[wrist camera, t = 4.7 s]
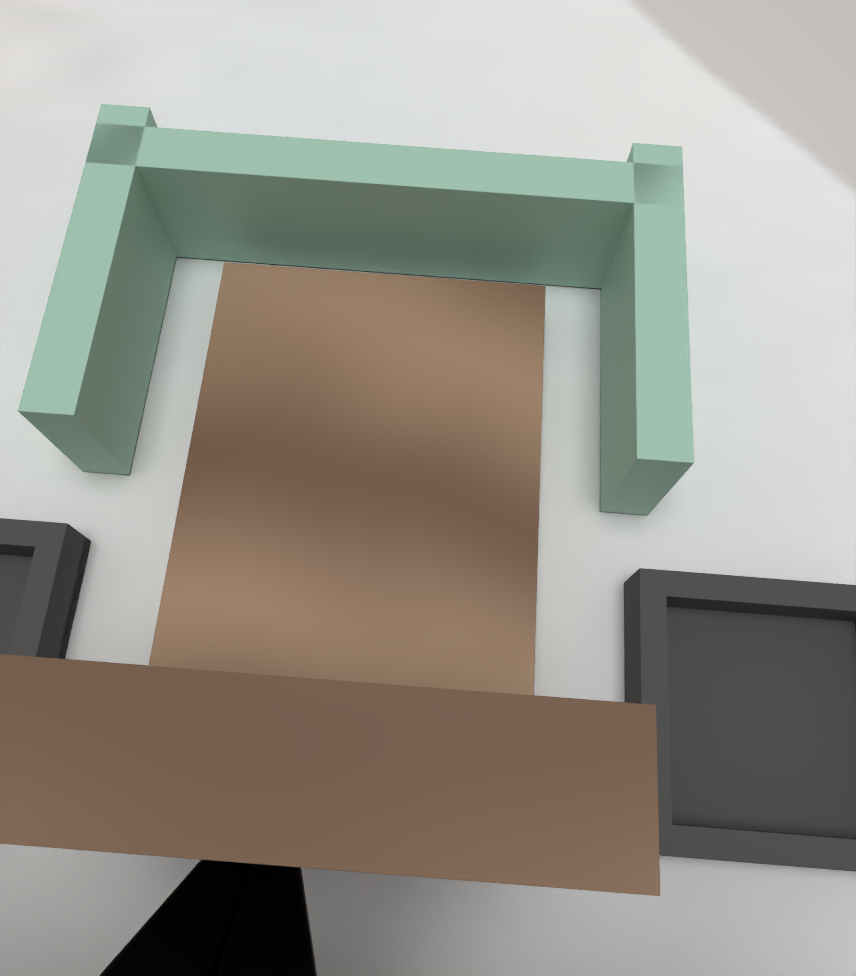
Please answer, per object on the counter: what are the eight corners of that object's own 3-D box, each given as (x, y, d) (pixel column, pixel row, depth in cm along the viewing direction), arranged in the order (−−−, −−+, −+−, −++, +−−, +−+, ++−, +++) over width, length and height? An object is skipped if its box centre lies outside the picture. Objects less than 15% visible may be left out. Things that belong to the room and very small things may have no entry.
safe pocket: (647, 515, 17) (694, 463, 14) (82, 471, 17) (18, 410, 14) (642, 238, 20) (681, 147, 17) (146, 201, 20) (101, 104, 17)
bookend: (520, 830, 15) (659, 896, 7) (144, 800, 15) (-200, 826, 7) (537, 315, 19) (639, -67, 10) (235, 293, 19) (91, -105, 10)
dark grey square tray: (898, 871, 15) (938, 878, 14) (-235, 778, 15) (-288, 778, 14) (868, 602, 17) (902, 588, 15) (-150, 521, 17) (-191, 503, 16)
